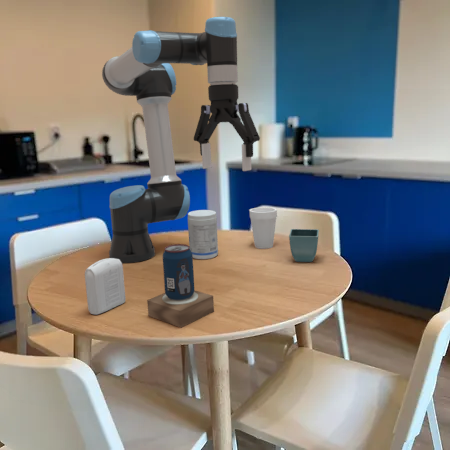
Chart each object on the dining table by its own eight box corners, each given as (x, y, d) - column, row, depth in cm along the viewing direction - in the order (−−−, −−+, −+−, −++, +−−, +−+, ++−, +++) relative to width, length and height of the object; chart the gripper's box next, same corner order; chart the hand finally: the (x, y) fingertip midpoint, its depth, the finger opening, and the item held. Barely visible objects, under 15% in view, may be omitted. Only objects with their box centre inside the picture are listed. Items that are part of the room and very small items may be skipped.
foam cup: (278, 249, 164) (277, 212, 161) (251, 250, 164) (250, 213, 161) (275, 242, 173) (275, 206, 170) (250, 243, 173) (249, 207, 170)
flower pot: (318, 264, 146) (318, 236, 144) (289, 264, 148) (288, 235, 146) (318, 256, 155) (318, 229, 153) (291, 255, 157) (290, 228, 155)
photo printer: (116, 299, 126) (112, 253, 123) (128, 302, 123) (124, 255, 120) (85, 313, 117) (80, 264, 114) (98, 316, 115) (92, 267, 112)
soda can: (176, 289, 118) (173, 242, 116) (200, 293, 115) (197, 245, 112) (159, 299, 113) (155, 249, 110) (183, 303, 109) (180, 253, 106)
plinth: (148, 315, 114) (147, 298, 113) (181, 301, 122) (180, 285, 121) (181, 327, 107) (179, 309, 106) (214, 311, 115) (213, 294, 114)
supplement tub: (191, 252, 165) (188, 210, 162) (218, 251, 165) (216, 209, 162) (188, 260, 156) (186, 216, 152) (218, 259, 156) (216, 215, 152)
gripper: (272, 81, 115) (274, 169, 120) (197, 87, 131) (201, 165, 136) (253, 80, 110) (256, 173, 115) (177, 87, 126) (182, 168, 131)
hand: (226, 169), depth 125 cm, fingers open, 13 cm apart
